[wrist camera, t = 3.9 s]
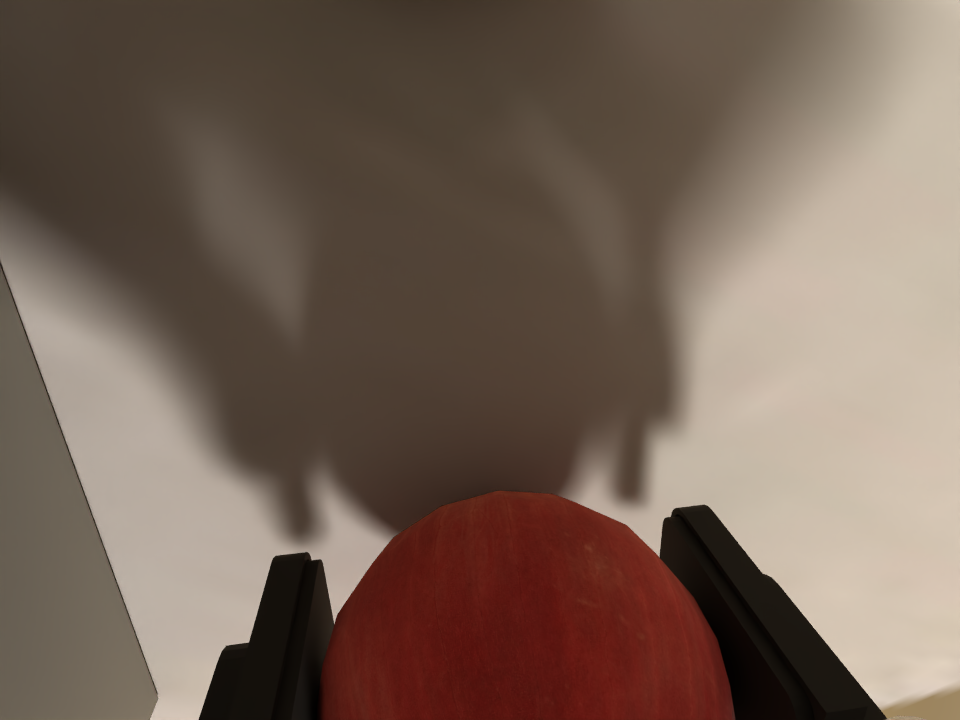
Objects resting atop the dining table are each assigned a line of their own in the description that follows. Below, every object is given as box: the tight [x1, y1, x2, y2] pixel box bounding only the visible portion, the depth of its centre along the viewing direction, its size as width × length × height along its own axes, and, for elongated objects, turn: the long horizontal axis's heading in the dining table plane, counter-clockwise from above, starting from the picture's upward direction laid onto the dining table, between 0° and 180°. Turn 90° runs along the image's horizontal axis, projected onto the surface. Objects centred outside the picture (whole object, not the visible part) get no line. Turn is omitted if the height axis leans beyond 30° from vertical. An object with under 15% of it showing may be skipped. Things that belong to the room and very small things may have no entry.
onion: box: [317, 491, 735, 720], centre depth 8 cm, size 6×6×8 cm
